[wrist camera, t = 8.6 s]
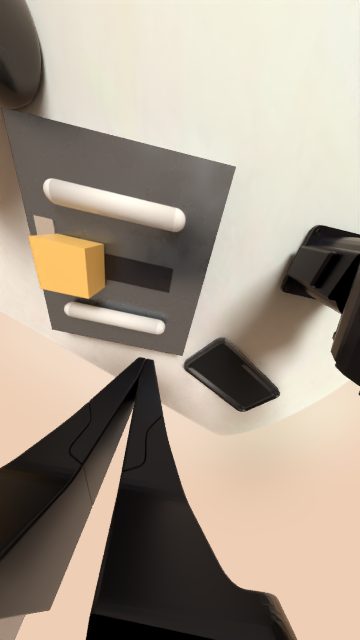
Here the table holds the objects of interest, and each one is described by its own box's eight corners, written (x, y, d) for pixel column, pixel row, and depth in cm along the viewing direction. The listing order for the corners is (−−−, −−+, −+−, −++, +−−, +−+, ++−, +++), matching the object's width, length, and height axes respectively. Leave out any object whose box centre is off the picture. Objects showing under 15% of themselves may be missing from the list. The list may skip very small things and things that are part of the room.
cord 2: (187, 211, 13) (187, 209, 12) (183, 233, 14) (182, 234, 13) (52, 178, 13) (34, 173, 11) (55, 203, 14) (39, 201, 12)
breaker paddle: (103, 244, 15) (84, 248, 12) (105, 287, 17) (88, 298, 14) (57, 233, 14) (28, 235, 12) (64, 278, 16) (40, 288, 14)
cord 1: (167, 318, 18) (165, 326, 17) (165, 330, 19) (162, 338, 18) (69, 297, 18) (59, 304, 16) (71, 310, 19) (61, 317, 17)
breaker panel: (228, 177, 14) (236, 166, 12) (183, 341, 23) (182, 356, 21) (38, 129, 14) (0, 106, 11) (68, 317, 23) (51, 329, 20)
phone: (241, 413, 29) (181, 366, 25) (239, 407, 30) (181, 361, 26) (283, 394, 26) (224, 337, 22) (280, 388, 27) (222, 332, 23)
